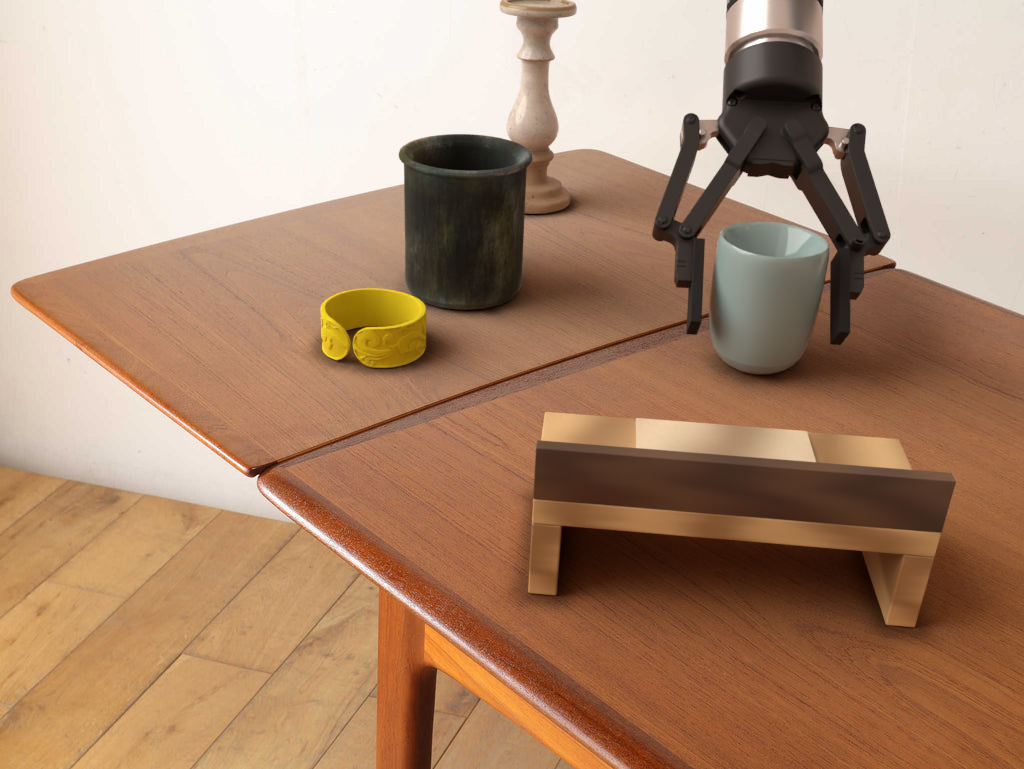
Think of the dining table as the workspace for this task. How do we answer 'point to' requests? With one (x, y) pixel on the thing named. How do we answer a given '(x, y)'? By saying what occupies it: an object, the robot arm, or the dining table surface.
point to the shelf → (741, 494)
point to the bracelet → (374, 345)
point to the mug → (464, 219)
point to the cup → (765, 294)
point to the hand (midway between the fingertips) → (766, 333)
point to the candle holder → (537, 99)
